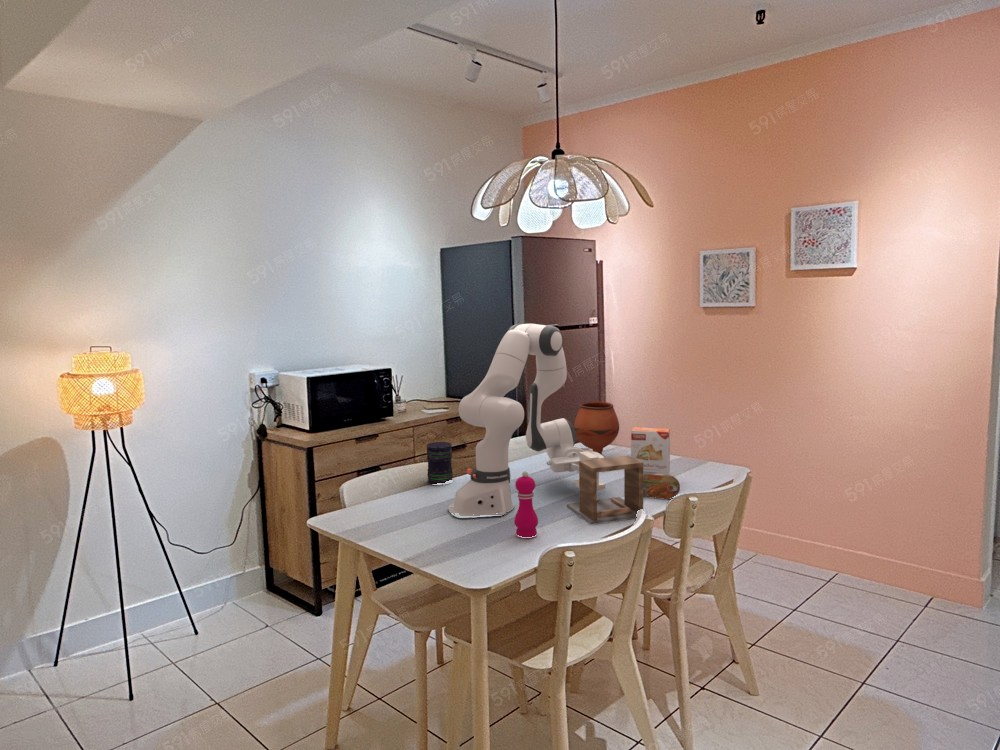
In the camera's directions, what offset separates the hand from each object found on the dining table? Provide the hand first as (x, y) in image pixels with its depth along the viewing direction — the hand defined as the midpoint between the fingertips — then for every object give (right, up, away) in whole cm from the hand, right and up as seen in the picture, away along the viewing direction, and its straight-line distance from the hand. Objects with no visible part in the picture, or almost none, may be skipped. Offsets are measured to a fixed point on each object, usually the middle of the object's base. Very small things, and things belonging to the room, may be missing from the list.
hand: (586, 468), depth 241 cm
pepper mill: (-22, -16, -33) cm, 43 cm away
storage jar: (-54, -9, +26) cm, 60 cm away
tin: (+26, -11, +1) cm, 28 cm away
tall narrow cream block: (+1, -6, -1) cm, 6 cm away
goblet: (+11, -4, +50) cm, 52 cm away
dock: (+4, -12, -12) cm, 18 cm away
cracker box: (+26, -8, +18) cm, 33 cm away
